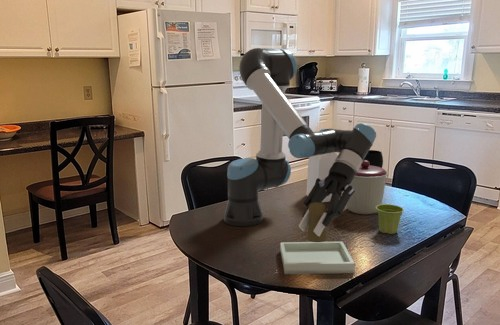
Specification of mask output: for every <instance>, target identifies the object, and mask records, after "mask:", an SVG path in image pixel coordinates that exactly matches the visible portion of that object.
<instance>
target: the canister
mask: <svg viewBox="0 0 500 325" xmlns="http://www.w3.org/2000/svg"><path fill="white" fill-rule="evenodd" d="M388 175H389V171H388V170H385V169H384V168H383V167H382V168H380V167H377V166H371V165H370V162H369V161H367V160H363V162H362V164H361V165H360V167H359V169H358V171H357V172H356V173H355V176H354V178H353V180H352V182H351V183H350V184H349V186H352V188H353V189H354V190H355V192H354V193H353V194H352V195H351V197H350V198H349V200H348V202H347V204H346V208H347V209H348V210H349V211H350V212H351V213H355V214H359V215H373V214H376V213H377V209H376V206H378V205H381V204H382V203H383V199H384V198H383V197H384V193H385V192H384V191H385V188H386V180H387V176H388Z"/></svg>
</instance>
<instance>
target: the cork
mask: <svg viewBox="0 0 500 325" xmlns="http://www.w3.org/2000/svg"><path fill="white" fill-rule="evenodd" d="M326 211H327V206H326V205H325V204H324V202H321V203H319V202H315V203H311V204H310V205H309V213H310V220H309V224H308V226H307V227H308V228H307V236H306V239H307V241H308V242H327V240H328V235H327V226H325V228H324V229H323V231H322V233H321V235H320V237H319V236H317V235H316V234H315V233H314V232H313V231H314V229H315V227H316V226H317V224H318V222H319V220H320V218H321V217H322V215H323V213H326V214H327V212H326Z"/></svg>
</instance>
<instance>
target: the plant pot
mask: <svg viewBox="0 0 500 325" xmlns="http://www.w3.org/2000/svg"><path fill="white" fill-rule="evenodd" d="M376 209H377V212H376V213H377V216H378V230H379V232H380V233H383V234H388V235H393V234H397V232H398V231H399V230H398V229H399V225H400V222H401V217H402V215H403V213H404V210H405V208H403V207H402V206H399V205H396V204H387V203H385V204H384V203H383V204H381V205H378V206H376Z"/></svg>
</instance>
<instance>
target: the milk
mask: <svg viewBox="0 0 500 325" xmlns="http://www.w3.org/2000/svg"><path fill="white" fill-rule="evenodd" d="M338 155H339V154H337V152H332V153H327V154H322V155H316V156H311V157H309V158H308V164H307V165H308V166H307V177H306V178H307V179H306V193H305V195H307V196H306V197H308V195H309V193H310V192H311V190H312V188H313V187H314V185H315V182H316V179H317V178H319V179H320V180H324V179H325V178H326V177H327V176H328V175H329V170H330V168H331V167H332V165H333V163H334V162H335V160H336V158H337V156H338ZM323 186H324V185H323ZM331 196H332V194H330V195H329V196H326V198H325V199H324V200H323V201H322V202H321V203H326V202H329V203H330V200H331ZM339 199H340V198H339Z"/></svg>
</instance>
